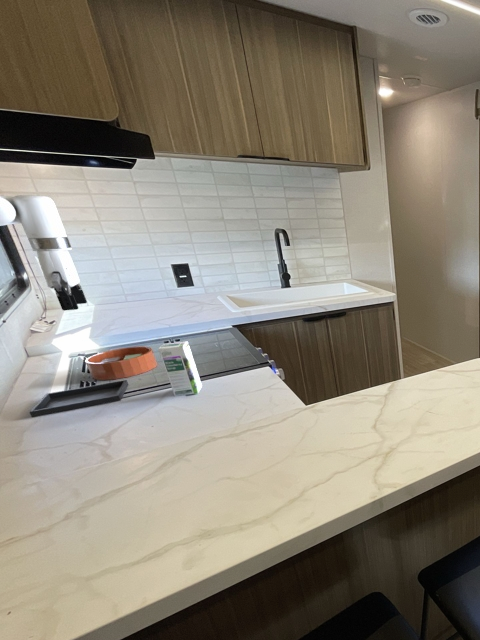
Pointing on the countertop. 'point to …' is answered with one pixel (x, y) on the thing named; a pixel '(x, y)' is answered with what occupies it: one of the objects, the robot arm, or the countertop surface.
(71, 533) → the countertop surface
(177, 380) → the syrup box
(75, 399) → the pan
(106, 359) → the walnut block
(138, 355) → the sage block
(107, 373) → the bowl
